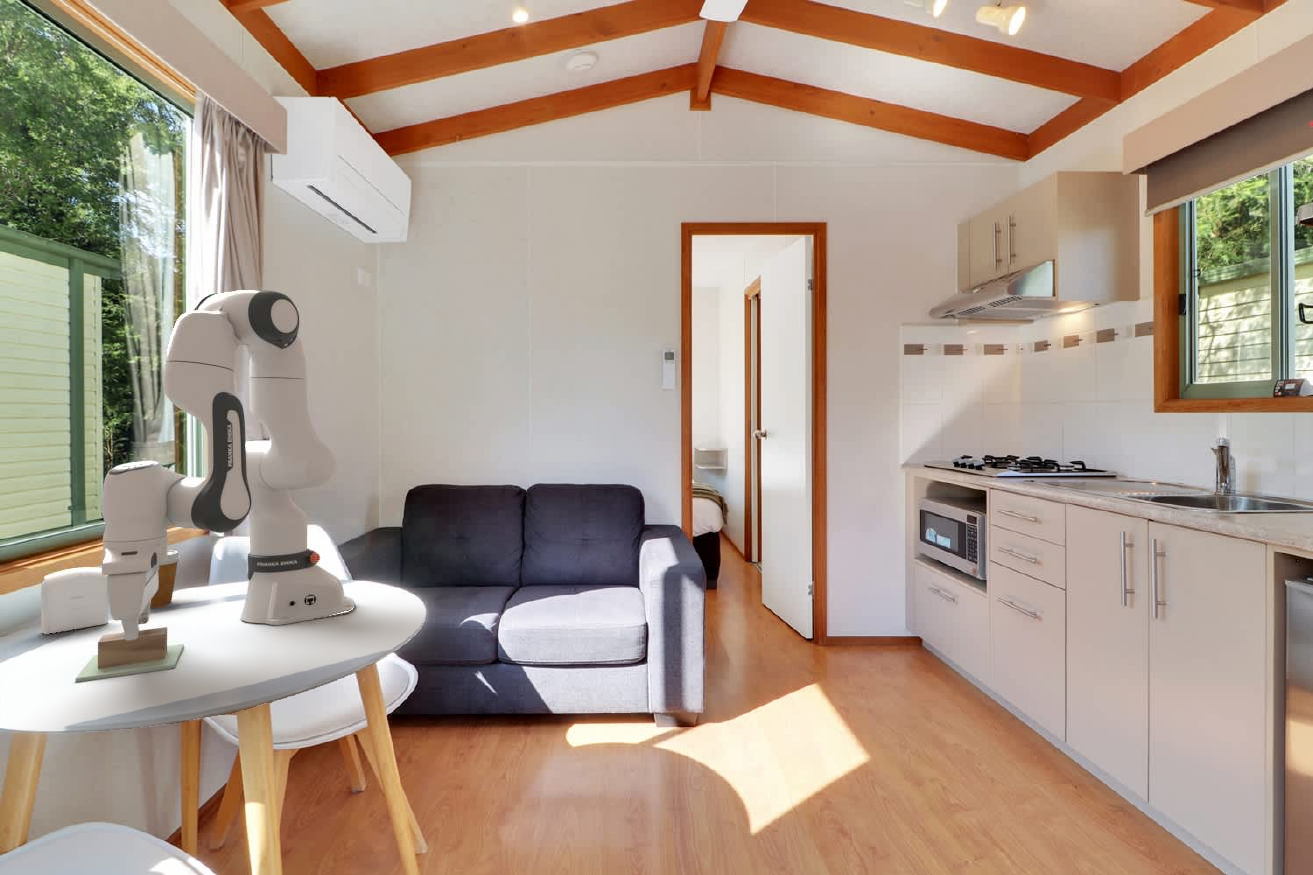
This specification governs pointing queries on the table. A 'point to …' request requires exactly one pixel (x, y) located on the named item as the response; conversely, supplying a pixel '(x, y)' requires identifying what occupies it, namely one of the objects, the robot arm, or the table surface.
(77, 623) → the photo printer
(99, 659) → the box
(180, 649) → the rubber mat
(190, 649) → the table surface
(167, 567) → the disposable coffee cup
